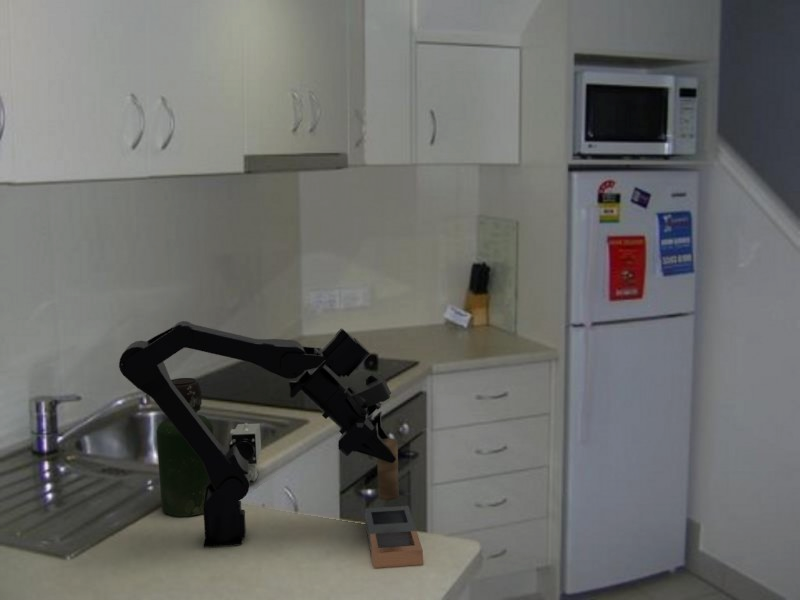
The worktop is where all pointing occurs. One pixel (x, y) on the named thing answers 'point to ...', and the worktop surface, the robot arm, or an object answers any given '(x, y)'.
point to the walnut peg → (388, 474)
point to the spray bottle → (181, 460)
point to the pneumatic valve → (248, 445)
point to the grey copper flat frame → (393, 537)
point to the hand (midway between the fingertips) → (395, 457)
